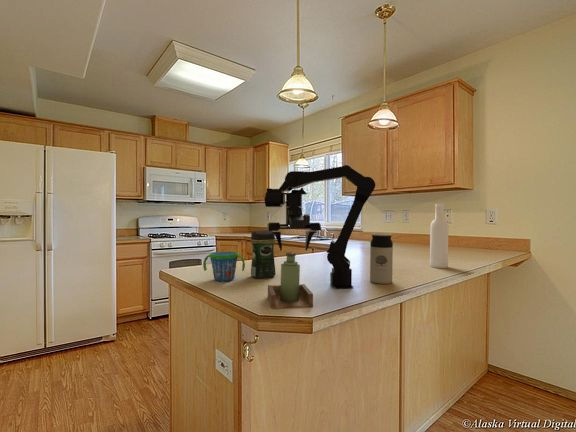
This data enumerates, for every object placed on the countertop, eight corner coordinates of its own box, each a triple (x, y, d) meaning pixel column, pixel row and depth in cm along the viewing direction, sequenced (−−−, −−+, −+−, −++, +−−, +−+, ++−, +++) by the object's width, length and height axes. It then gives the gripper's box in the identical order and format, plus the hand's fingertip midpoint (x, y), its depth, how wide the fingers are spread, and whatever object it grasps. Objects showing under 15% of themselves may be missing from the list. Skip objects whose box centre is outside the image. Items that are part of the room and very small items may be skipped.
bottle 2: (425, 265, 152) (426, 204, 151) (437, 264, 155) (438, 204, 155) (440, 268, 144) (441, 203, 144) (451, 267, 148) (452, 204, 147)
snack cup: (198, 281, 115) (198, 254, 115) (210, 276, 125) (210, 250, 125) (239, 283, 112) (239, 255, 112) (248, 277, 123) (248, 251, 123)
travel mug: (373, 278, 122) (373, 232, 122) (394, 281, 118) (395, 233, 118) (367, 282, 115) (367, 233, 115) (389, 285, 111) (390, 234, 111)
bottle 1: (292, 295, 94) (293, 251, 94) (302, 300, 89) (303, 254, 89) (276, 298, 91) (278, 252, 91) (286, 303, 87) (287, 255, 86)
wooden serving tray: (304, 295, 97) (304, 284, 97) (313, 307, 85) (313, 293, 85) (267, 297, 95) (267, 285, 95) (271, 308, 84) (271, 295, 84)
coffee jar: (270, 273, 131) (270, 229, 130) (277, 277, 123) (278, 230, 123) (248, 275, 127) (248, 229, 126) (254, 279, 119) (254, 230, 119)
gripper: (270, 206, 103) (269, 254, 103) (325, 207, 106) (324, 253, 106) (267, 207, 114) (267, 249, 114) (317, 207, 117) (316, 249, 117)
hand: (293, 250), depth 113 cm, fingers open, 9 cm apart
